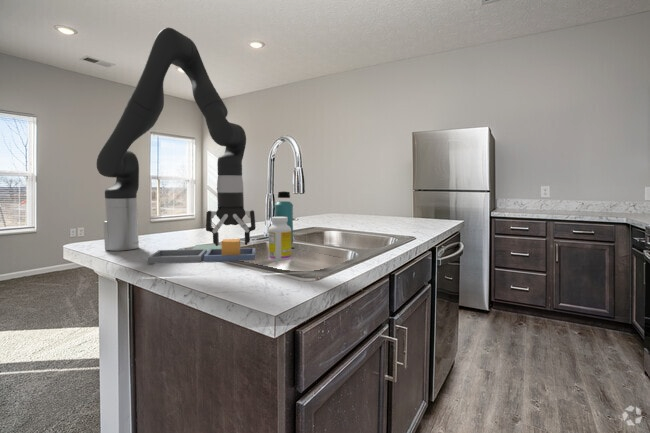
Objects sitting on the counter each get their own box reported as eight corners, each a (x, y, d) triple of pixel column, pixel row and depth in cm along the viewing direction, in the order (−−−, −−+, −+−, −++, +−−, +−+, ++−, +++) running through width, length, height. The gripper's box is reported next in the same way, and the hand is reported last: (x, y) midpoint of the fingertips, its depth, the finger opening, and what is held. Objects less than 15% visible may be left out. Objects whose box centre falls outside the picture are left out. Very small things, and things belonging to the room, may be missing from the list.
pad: (189, 254, 110) (189, 251, 110) (196, 247, 122) (196, 244, 121) (228, 253, 112) (228, 250, 112) (231, 246, 124) (231, 244, 124)
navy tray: (204, 263, 99) (203, 256, 99) (209, 255, 109) (209, 248, 109) (254, 261, 101) (254, 254, 101) (255, 254, 112) (255, 247, 111)
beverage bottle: (283, 246, 124) (282, 191, 122) (297, 249, 121) (297, 191, 119) (270, 249, 119) (269, 191, 117) (284, 252, 115) (284, 191, 113)
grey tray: (147, 264, 96) (147, 257, 96) (158, 256, 107) (158, 250, 106) (200, 263, 99) (200, 256, 99) (206, 255, 109) (206, 249, 109)
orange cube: (221, 258, 102) (221, 241, 102) (223, 255, 107) (223, 239, 107) (239, 258, 103) (238, 241, 103) (240, 254, 108) (240, 238, 108)
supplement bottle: (293, 257, 107) (293, 216, 106) (288, 262, 100) (288, 218, 99) (271, 257, 107) (271, 215, 106) (266, 262, 101) (265, 218, 100)
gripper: (255, 190, 108) (256, 242, 110) (207, 190, 106) (209, 243, 107) (254, 191, 101) (255, 246, 102) (203, 191, 98) (205, 247, 100)
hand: (231, 244), depth 105 cm, fingers open, 8 cm apart
